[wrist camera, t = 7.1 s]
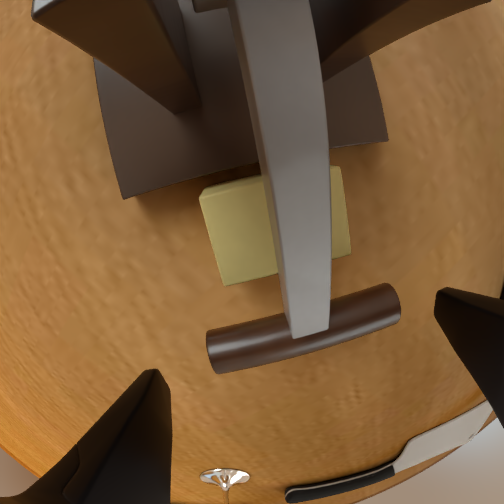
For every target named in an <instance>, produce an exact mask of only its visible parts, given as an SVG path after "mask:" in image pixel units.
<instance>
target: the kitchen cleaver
mask: <svg viewBox="0 0 504 504" xmlns="http://www.w3.org/2000/svg"><path fill="white" fill-rule="evenodd" d="M492 410H493V409H492V407H491V405H490V404H489V402H488V400H486V401H485V402H483V403H481V404H480V405H478V406H476V407H474V408H473V409H471V410H469V411H467V412H466V413H464V414H462V415H460V416H458V417H456V418H454V419H452V420H450V421H448V422H446V423H444V424H442V425H440V426H438V427H436V428H433V429H431V430H429V431H427V432H425V433H423V434H420V435H418V436H416V437H414V438H412V439H411V440H410V441H408V443H407V445H406V446H405V448H404V450H403V452H402V453H401V455H400V456H399V457H398V459H396V460H395V461H394V462H393V463H391V462H388V463H386V464H384V465H382V466H380V467H377V468H375V469H372V470H369V471H366V472H363V473H359V474H356V475H352V476H348V477H344V478H340V479H336V480H332V481H327V482H322V483H317V484H312V485H305V486H293V487H289V488H287V489H286V490H285V500H286V502H287V503H298V502H303V501H309V500H314V499H319V498H324V497H328V496H332V495H336V494H340V493H344V492H348V491H351V490H355V489H358V488H362V487H365V486H368V485H371V484H374V483H377V482H380V481H382V480H385V479H387V478H390V477H392V476H394V475H395V473H397V472H399V471H402V470H404V469H407V468H409V467H412V466H414V465H416V464H419V463H421V462H423V461H425V460H428V459H430V458H432V457H434V456H437V455H439V454H441V453H444V452H446V451H448V450H451V449H453V448H455V447H458V446H461V445H463V444H466V443H468V442H469V441H470V440H472V439H473V437H474V436H475V435H476V434H477V432H478V431H479V430H480V428H481V427H482V425H483V424H484V423H485V421H486V420H487V418H488V417H489V415H490V413H491V412H492Z"/></svg>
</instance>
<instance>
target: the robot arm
mask: <svg viewBox="0 0 504 504" xmlns="http://www.w3.org/2000/svg"><path fill="white" fill-rule="evenodd" d="M434 316H435V318H436V320H437V322H438V323H439V325H440V327H441V328H442V330H443V332H444V333H445V335H446V337H447V338H448V340H449V342H450V344H451V345H452V347H453V349H454V350H455V352H456V353H457V355H458V356H459V358H460V359H461V361H462V362H463V363H464V365H465V366H466V368H467V369H468V371H469V372H470V374H471V375H472V377H473V378H474V380H475V381H476V383H477V384H478V386H479V388H480V389H481V391H482V392H483V394H484V395H485V397H486V399H487V400H488V402H489V404H490V405H491V407H492V409H493V410H494V412H495V414H496V416H497V417H498V419H499V421H500V423H501V425H502V426H503V428H504V289H503V294H502V298H501V299H497V298H493V297H489V296H484V295H480V294H476V293H472V292H467V291H463V290H459V289H454V288H450V287H445V288H443V289H441V290H439V291H438V292H437V293H436V299H435V306H434ZM171 455H172V416H171V393H170V388H169V386H168V384H167V383H166V381H165V379H164V378H163V376H162V374H161V373H160V371H159V370H158V369H149V370H145V371H143V372H142V373H141V375H140V376H139V377H138V378H137V379H136V380H135V381H134V382H133V383H132V384H131V385H130V386H129V387H128V389H127V390H126V391H125V392H124V393H123V394H122V395H121V396H120V397H119V398H118V399H117V400H116V401H115V403H114V404H113V405H112V406H111V407H110V408H109V409H108V410H107V411H106V412H105V413H104V414H103V415H102V416H101V418H100V419H99V420H98V421H97V422H96V423H95V424H94V425H93V426H92V427H91V428H90V429H89V430H88V431H87V433H86V434H85V435H84V436H83V437H82V438H81V439H80V440H79V441H78V442H77V444H75V445H74V446H73V447H72V449H71V450H70V451H69V452H68V453H67V454H66V455H65V456H64V457H63V458H62V459H61V460H60V461H59V462H58V463H57V464H56V465H55V466H53V467H52V468H51V469H50V470H49V471H48V472H47V473H46V474H44V475H43V476H42V477H41V478H40V479H39V480H38V481H36V482H35V483H34V484H33V485H32V486H30V487H29V488H28V489H27V490H26V491H24V492H23V493H21V494H19V495H16V496H11V497H0V504H170V485H171Z"/></svg>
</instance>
